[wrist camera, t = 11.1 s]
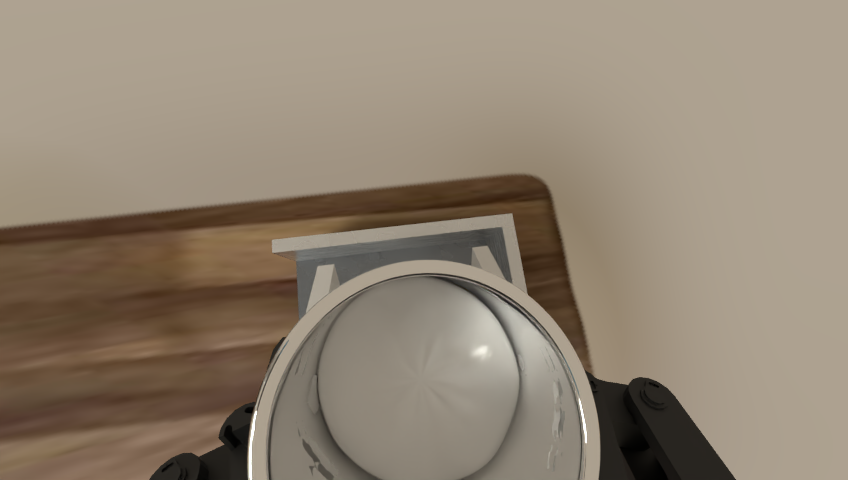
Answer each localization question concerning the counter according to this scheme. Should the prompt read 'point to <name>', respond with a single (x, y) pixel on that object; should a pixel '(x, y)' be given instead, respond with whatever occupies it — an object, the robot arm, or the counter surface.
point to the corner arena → (403, 249)
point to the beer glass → (425, 385)
